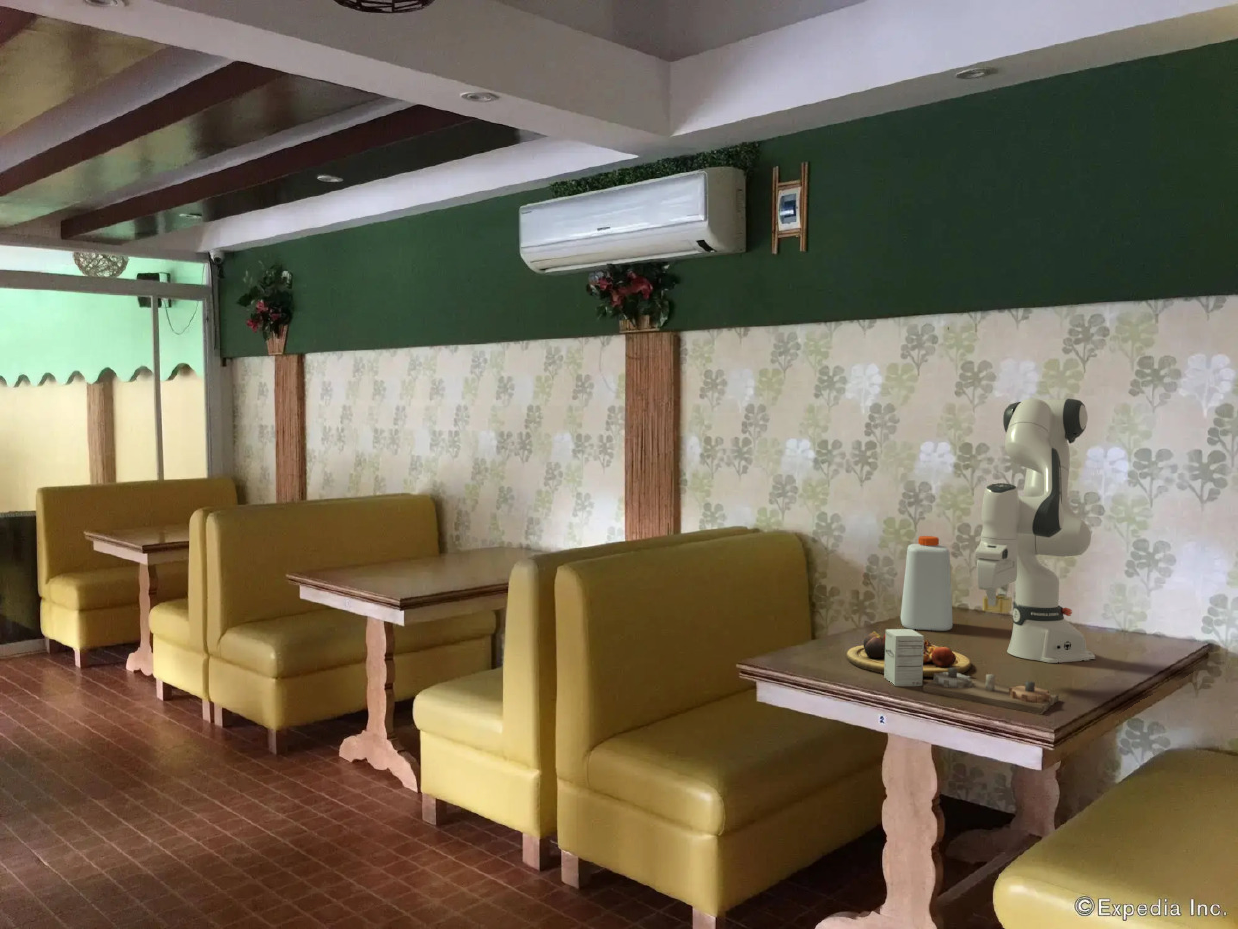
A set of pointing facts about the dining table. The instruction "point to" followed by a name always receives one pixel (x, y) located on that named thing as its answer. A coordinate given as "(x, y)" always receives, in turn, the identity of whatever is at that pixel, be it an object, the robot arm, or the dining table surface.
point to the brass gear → (998, 604)
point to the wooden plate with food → (933, 657)
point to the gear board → (991, 691)
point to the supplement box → (904, 657)
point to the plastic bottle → (927, 586)
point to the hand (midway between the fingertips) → (997, 603)
